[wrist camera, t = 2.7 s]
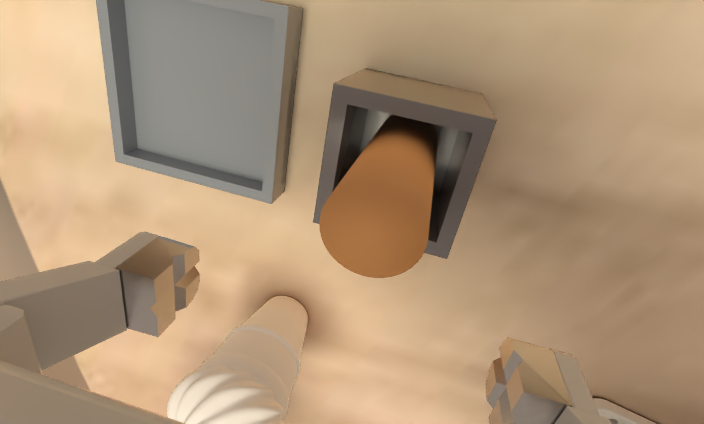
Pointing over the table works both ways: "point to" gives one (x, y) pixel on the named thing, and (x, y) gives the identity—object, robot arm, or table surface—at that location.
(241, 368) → the soft serve ice cream cone
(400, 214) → the peg
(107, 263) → the robot arm
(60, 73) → the table surface
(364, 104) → the square hollow box
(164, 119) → the tray
